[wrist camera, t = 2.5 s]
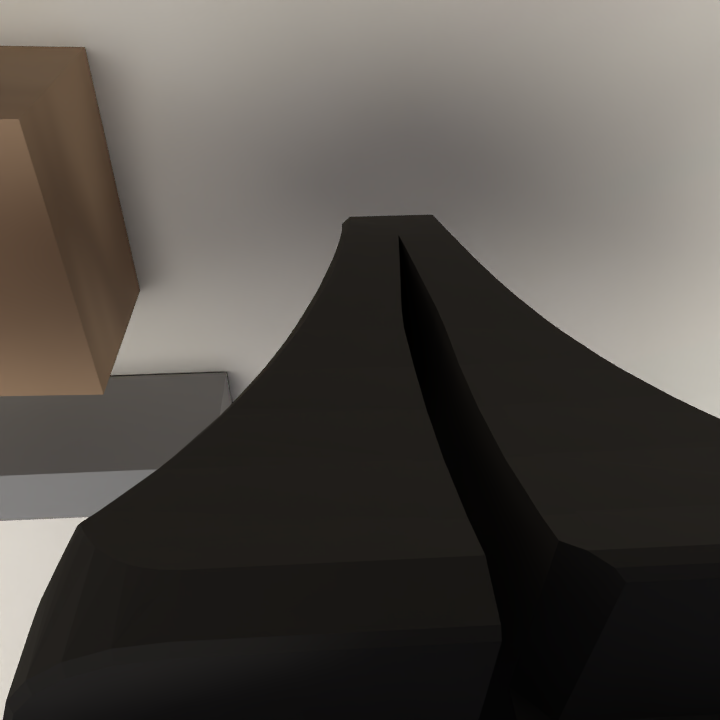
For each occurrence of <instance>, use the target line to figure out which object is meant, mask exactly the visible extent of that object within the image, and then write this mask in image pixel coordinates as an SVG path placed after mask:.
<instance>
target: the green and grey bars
mask: <svg viewBox="0 0 720 720" xmlns="http://www.w3.org/2000/svg"><path fill="white" fill-rule="evenodd" d="M231 404H232V401H231V395H230V390H229V384H228V378H227V373H226V372H223V373H195V374H167V375H140V376H112V377H109V380H108V383H107V386H106V389H105V392H104V394H103V395H44V396H0V521H8V520H30V519H53V518H75V517H90V516H92V515H93V514H95V513H96V512H98V511H99V510H101V509H102V508H104V507H105V506H107V505H108V504H109V503H111V502H112V501H114V500H115V499H116V498H118V497H119V496H121V495H122V494H123V493H125V492H126V491H128V490H129V489H131V488H132V487H133V486H135V485H136V484H138V483H139V482H140V481H142V480H143V479H145V478H146V477H147V476H149V475H150V474H152V473H153V472H155V471H156V470H157V469H159V468H160V467H161V466H162V465H164V464H165V463H166V462H167V461H169V460H170V459H171V458H172V457H173V456H175V455H176V454H177V453H178V452H179V451H180V450H181V449H183V448H184V447H185V446H186V445H187V444H188V443H189V442H191V441H192V440H193V439H194V438H195V437H196V436H197V435H198V434H200V433H201V432H202V431H203V430H204V429H205V428H206V427H208V426H209V425H210V424H211V423H212V422H213V421H214V420H215V419H217V418H218V417H219V416H220V415H221V414H222V413H223V412H224V411H225V410H226V409H227V408H228V407H229V406H230V405H231Z"/></svg>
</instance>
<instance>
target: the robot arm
mask: <svg viewBox="0 0 720 720" xmlns="http://www.w3.org/2000/svg"><path fill="white" fill-rule="evenodd" d="M3 720H720V419H719V418H717V417H715V416H712V415H710V414H708V413H706V412H704V411H701V410H699V409H697V408H695V407H693V406H691V405H689V404H687V403H685V402H683V401H681V400H679V399H677V398H674V397H672V396H670V395H669V394H667V393H665V392H663V391H661V390H659V389H657V388H656V387H654V386H652V385H650V384H648V383H646V382H644V381H643V380H641V379H639V378H637V377H635V376H633V375H631V374H630V373H628V372H626V371H624V370H622V369H621V368H619V367H617V366H616V365H614V364H612V363H610V362H609V361H607V360H605V359H604V358H602V357H600V356H599V355H597V354H596V353H594V352H593V351H591V350H590V349H588V348H587V347H585V346H584V345H582V344H581V343H579V342H578V341H576V340H574V339H573V338H571V337H570V336H568V335H567V334H565V333H564V332H562V331H561V330H560V329H558V328H557V327H555V326H554V325H553V324H551V323H550V322H548V321H547V320H546V319H544V318H543V317H542V316H541V315H539V314H538V313H537V312H536V311H534V310H533V309H532V308H531V307H529V306H528V305H527V304H526V303H524V302H523V301H522V300H521V299H519V298H518V297H517V296H516V295H514V294H513V293H512V292H511V291H510V290H509V289H508V288H506V287H505V286H504V285H503V284H502V283H501V282H500V281H498V280H497V279H496V278H495V277H494V276H493V275H492V274H491V273H490V272H489V271H488V270H486V269H485V268H484V267H483V266H482V265H481V264H480V263H479V262H478V261H477V260H476V259H475V258H474V257H473V256H472V255H471V254H470V253H469V252H468V251H467V250H466V249H465V248H464V247H463V246H462V245H461V244H460V243H459V242H458V241H457V240H456V239H455V238H454V237H453V236H452V235H451V234H450V233H449V232H448V231H447V230H446V228H445V227H444V226H443V225H442V224H441V223H440V222H439V221H438V220H437V219H436V218H435V217H434V216H433V215H405V216H367V217H349V218H348V219H347V220H346V221H345V222H344V223H343V224H342V233H341V237H340V241H339V244H338V247H337V250H336V252H335V255H334V257H333V260H332V262H331V264H330V266H329V268H328V270H327V273H326V275H325V277H324V279H323V281H322V283H321V285H320V287H319V289H318V291H317V293H316V294H315V296H314V298H313V299H312V301H311V303H310V304H309V306H308V307H307V309H306V311H305V312H304V314H303V316H302V317H301V319H300V321H299V322H298V324H297V325H296V327H295V328H294V330H293V331H292V333H291V334H290V335H289V337H288V338H287V340H286V341H285V342H284V344H283V345H282V346H281V348H280V349H279V350H278V352H277V353H276V354H275V355H274V357H273V358H272V359H271V360H270V362H269V363H268V364H267V366H266V367H265V368H264V369H263V370H262V371H261V373H260V374H259V375H258V376H257V377H256V378H255V379H254V380H253V381H252V382H251V384H250V385H249V386H248V387H247V388H246V389H245V390H244V391H243V392H242V393H241V395H240V396H239V397H238V398H237V399H236V400H235V401H234V402H233V403H232V404H231V405H230V406H229V407H228V408H227V409H226V410H225V411H224V412H223V413H222V414H221V415H220V416H219V417H218V418H217V419H215V420H214V421H213V422H212V423H211V424H210V425H209V426H208V427H206V428H205V429H204V430H203V431H202V432H201V433H200V434H198V435H197V436H196V437H195V438H194V439H193V440H192V441H191V442H189V443H188V444H187V445H186V446H185V447H184V448H183V449H181V450H180V451H179V452H178V453H177V454H176V455H175V456H173V457H172V458H171V459H170V460H169V461H167V462H166V463H165V464H164V465H162V466H161V467H160V468H159V469H157V470H156V471H155V472H153V473H152V474H150V475H149V476H147V477H146V478H145V479H143V480H142V481H140V482H139V483H138V484H136V485H135V486H133V487H132V488H131V489H129V490H128V491H126V492H125V493H123V494H122V495H121V496H119V497H118V498H116V499H115V500H114V501H112V502H111V503H109V504H108V505H107V506H105V507H104V508H102V509H101V510H99V511H98V512H96V513H95V514H93V515H92V516H90V517H89V518H87V519H86V520H84V521H83V522H81V523H80V524H79V525H78V526H77V528H76V530H75V532H74V533H73V535H72V537H71V539H70V541H69V543H68V545H67V547H66V549H65V551H64V553H63V555H62V557H61V559H60V561H59V563H58V565H57V567H56V570H55V572H54V574H53V576H52V578H51V580H50V582H49V584H48V586H47V588H46V590H45V592H44V595H43V597H42V599H41V601H40V603H39V606H38V608H37V611H36V614H35V617H34V620H33V622H32V625H31V628H30V631H29V634H28V637H27V640H26V643H25V646H24V649H23V652H22V655H21V658H20V661H19V664H18V667H17V670H16V673H15V676H14V679H13V682H12V685H11V688H10V691H9V694H8V697H7V700H6V704H5V710H4V717H3Z"/></svg>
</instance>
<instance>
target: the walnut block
mask: <svg viewBox="0 0 720 720" xmlns="http://www.w3.org/2000/svg"><path fill="white" fill-rule="evenodd" d="M139 292H140V289H139V284H138V280H137V275H136V271H135V267H134V262H133V258H132V253H131V249H130V245H129V240H128V236H127V231H126V227H125V222H124V218H123V214H122V209H121V205H120V200H119V196H118V191H117V187H116V183H115V178H114V174H113V169H112V165H111V161H110V156H109V152H108V147H107V143H106V138H105V134H104V130H103V125H102V121H101V116H100V112H99V107H98V103H97V99H96V94H95V90H94V85H93V81H92V77H91V72H90V68H89V63H88V59H87V54H86V50H85V47H33V46H0V396H44V395H103V394H104V392H105V389H106V386H107V383H108V380H109V377H110V374H111V372H112V369H113V366H114V363H115V360H116V357H117V355H118V352H119V349H120V346H121V343H122V340H123V337H124V335H125V332H126V329H127V326H128V323H129V320H130V318H131V315H132V312H133V309H134V306H135V303H136V300H137V298H138V295H139Z"/></svg>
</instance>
